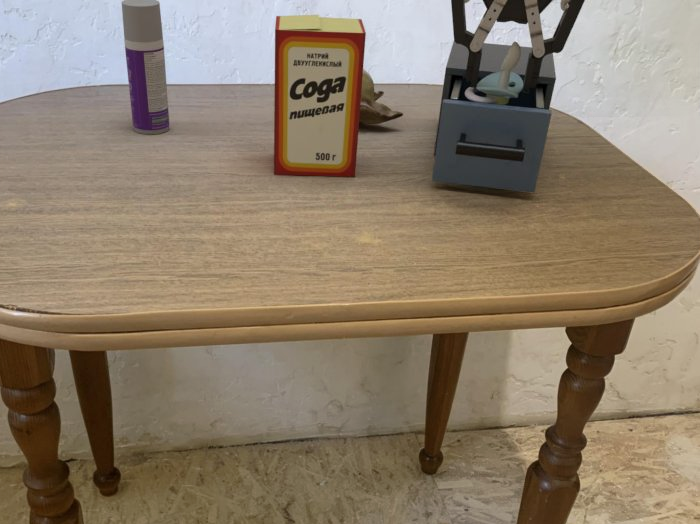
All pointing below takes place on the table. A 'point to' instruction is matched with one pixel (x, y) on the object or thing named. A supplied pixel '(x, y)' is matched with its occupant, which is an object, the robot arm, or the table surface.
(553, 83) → the cabinet
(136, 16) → the container
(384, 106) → the ceramic sculpture
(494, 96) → the pacifier
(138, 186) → the table surface
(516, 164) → the drawer
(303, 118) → the baking soda box
